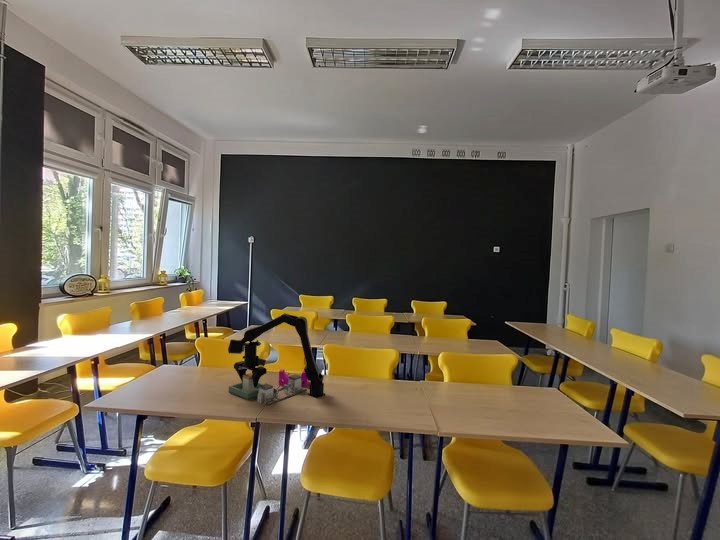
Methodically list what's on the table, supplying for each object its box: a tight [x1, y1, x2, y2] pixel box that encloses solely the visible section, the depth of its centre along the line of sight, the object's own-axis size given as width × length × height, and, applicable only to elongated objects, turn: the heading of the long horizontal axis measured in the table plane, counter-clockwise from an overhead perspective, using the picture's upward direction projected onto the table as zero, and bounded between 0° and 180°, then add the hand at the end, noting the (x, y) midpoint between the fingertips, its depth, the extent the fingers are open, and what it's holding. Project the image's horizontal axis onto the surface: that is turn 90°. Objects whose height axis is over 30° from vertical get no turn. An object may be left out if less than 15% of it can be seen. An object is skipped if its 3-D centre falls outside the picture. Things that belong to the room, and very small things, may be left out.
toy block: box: [278, 368, 309, 387], centre depth 195 cm, size 15×6×8 cm, turn 89°
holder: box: [251, 373, 308, 407], centre depth 178 cm, size 11×26×7 cm, turn 145°
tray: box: [228, 381, 264, 401], centre depth 179 cm, size 15×13×3 cm
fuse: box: [243, 372, 256, 393], centre depth 179 cm, size 5×5×8 cm
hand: (249, 385), depth 179 cm, fingers open, 9 cm apart
